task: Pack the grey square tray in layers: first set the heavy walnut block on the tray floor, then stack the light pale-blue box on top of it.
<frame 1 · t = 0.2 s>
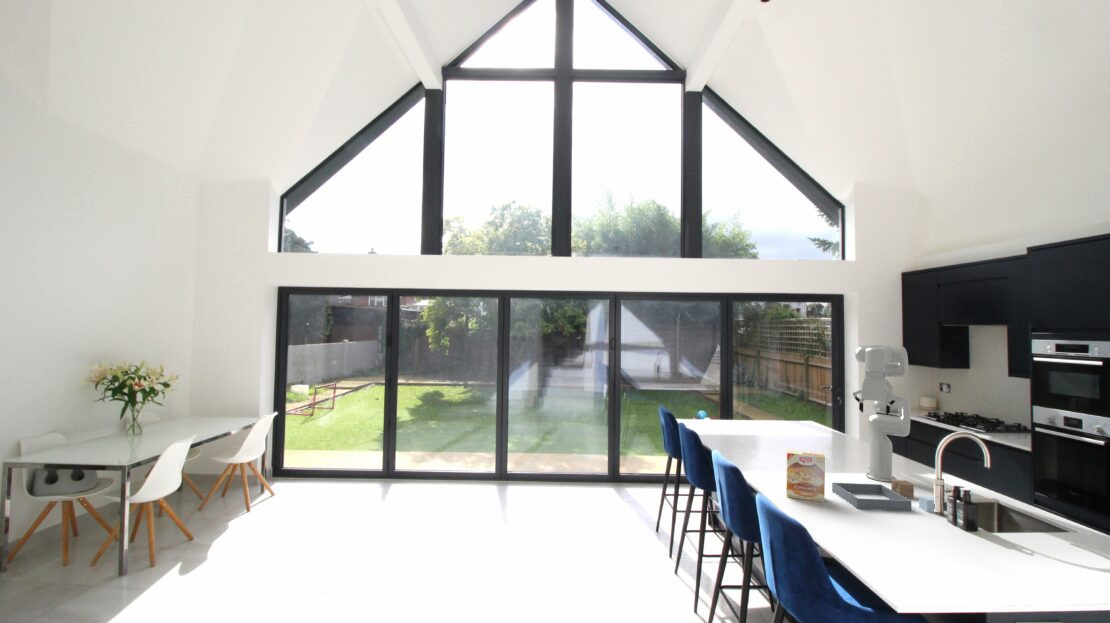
hand: (874, 413, 231), 36 cm above the kitchen island, tool pointing down, fingers open, 9 cm apart
walnut block: (902, 495, 230), on the kitchen island
coffeecake box: (804, 497, 225), on the kitchen island
grey square tray: (869, 500, 223), on the kitchen island
pale blue box: (929, 510, 213), on the kitchen island
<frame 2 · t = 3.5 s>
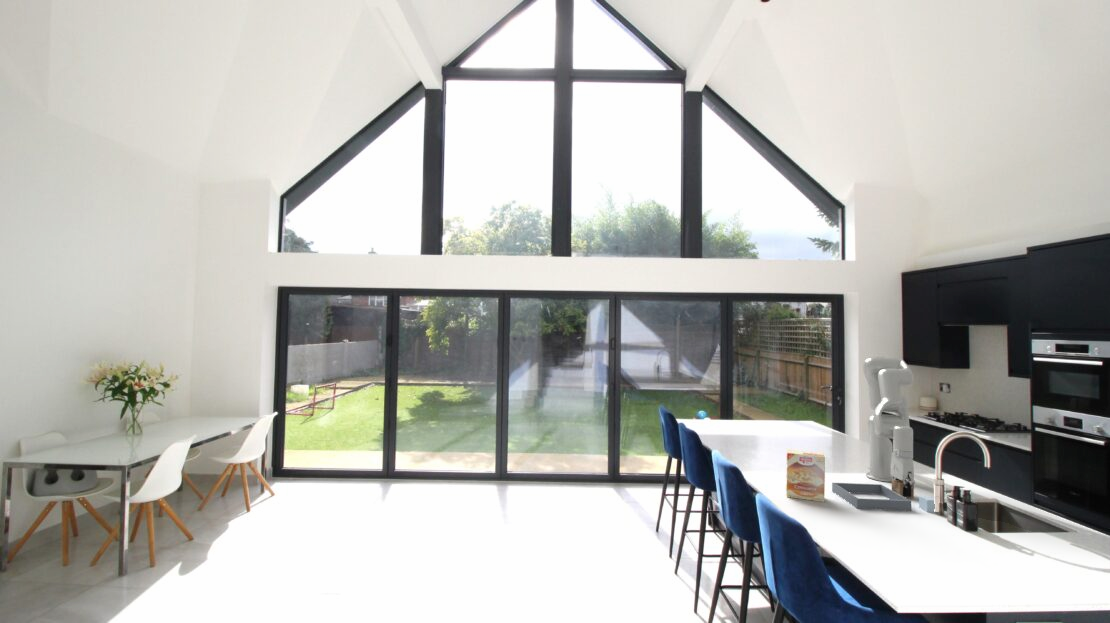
hand: (902, 493, 230), 1 cm above the kitchen island, tool pointing down, fingers closed on walnut block, 6 cm apart
walnut block: (902, 495, 230), on the kitchen island, touching gripper
everything else where it was.
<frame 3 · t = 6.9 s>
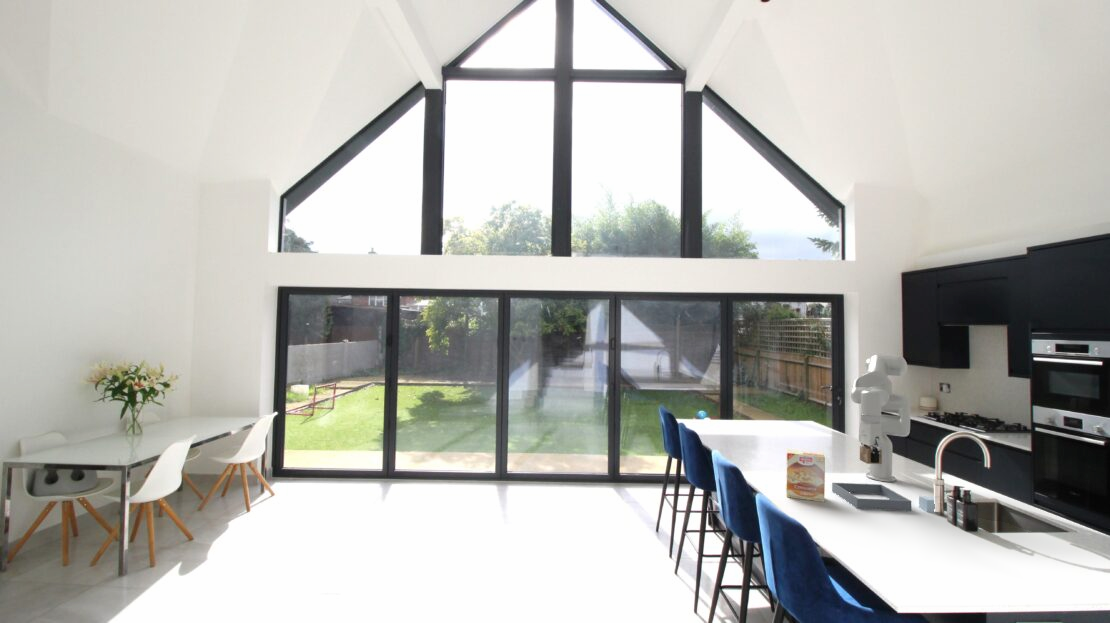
hand: (870, 460, 223), 17 cm above the kitchen island, tool pointing down, fingers closed on walnut block, 6 cm apart
walnut block: (870, 461, 223), point 17 cm above the kitchen island, touching gripper
everything else where it was.
when the fingers open (2 cm above the kitchen island, at t = 10.3 s): walnut block drops 1 cm, resting in grey square tray.
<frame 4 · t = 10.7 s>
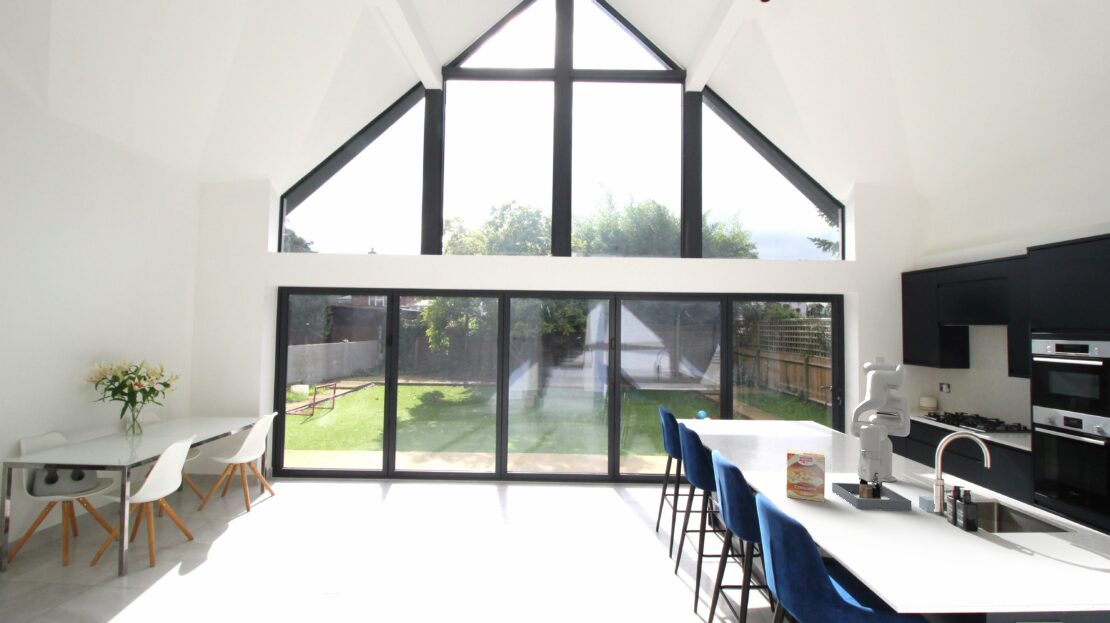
hand: (869, 493, 223), 3 cm above the kitchen island, tool pointing down, fingers open, 9 cm apart
walnut block: (869, 500, 223), resting in grey square tray
everything else where it was.
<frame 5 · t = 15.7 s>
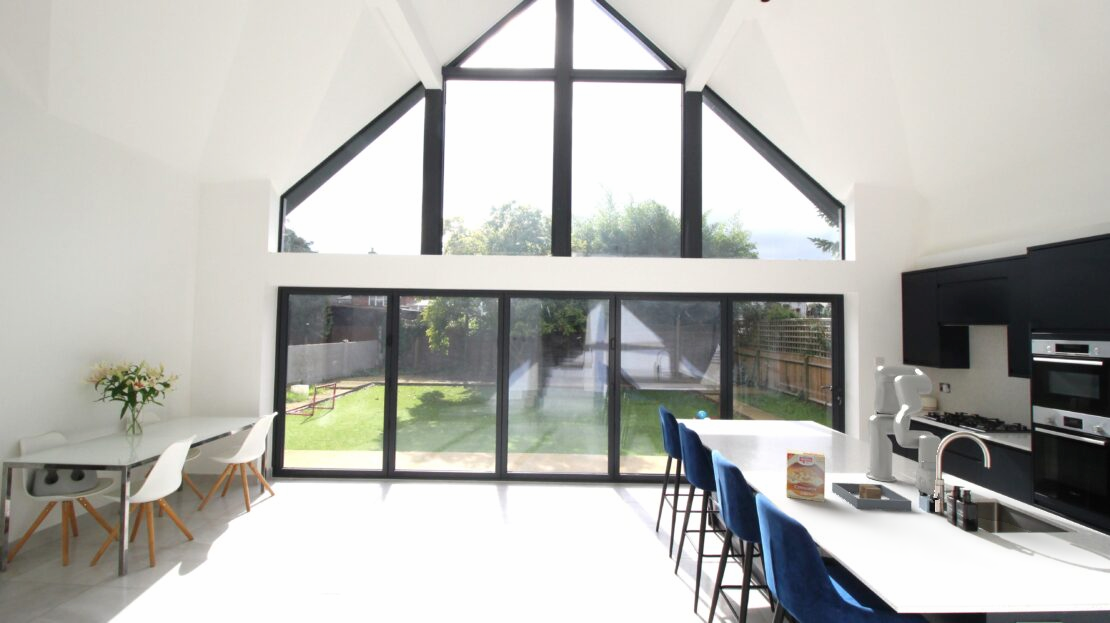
hand: (929, 508, 213), 0 cm above the kitchen island, tool pointing down, fingers closed on pale blue box, 4 cm apart
pale blue box: (929, 510, 213), on the kitchen island, touching gripper
everything else where it was.
when the fingers open (8 cm above the kitchen island, at t = 21.9 s): pale blue box drops 1 cm, resting on walnut block.
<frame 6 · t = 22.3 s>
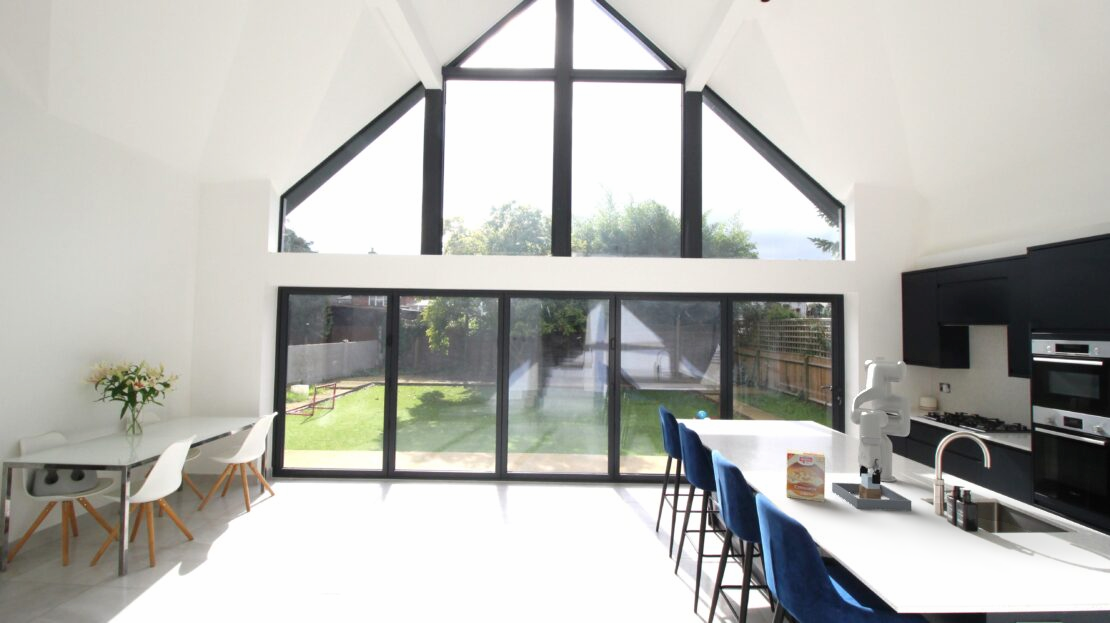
hand: (869, 480, 223), 9 cm above the kitchen island, tool pointing down, fingers open, 9 cm apart
walnut block: (869, 500, 223), resting in grey square tray, touching pale blue box
pale blue box: (870, 487, 223), point 6 cm above the kitchen island, touching walnut block
everything else where it was.
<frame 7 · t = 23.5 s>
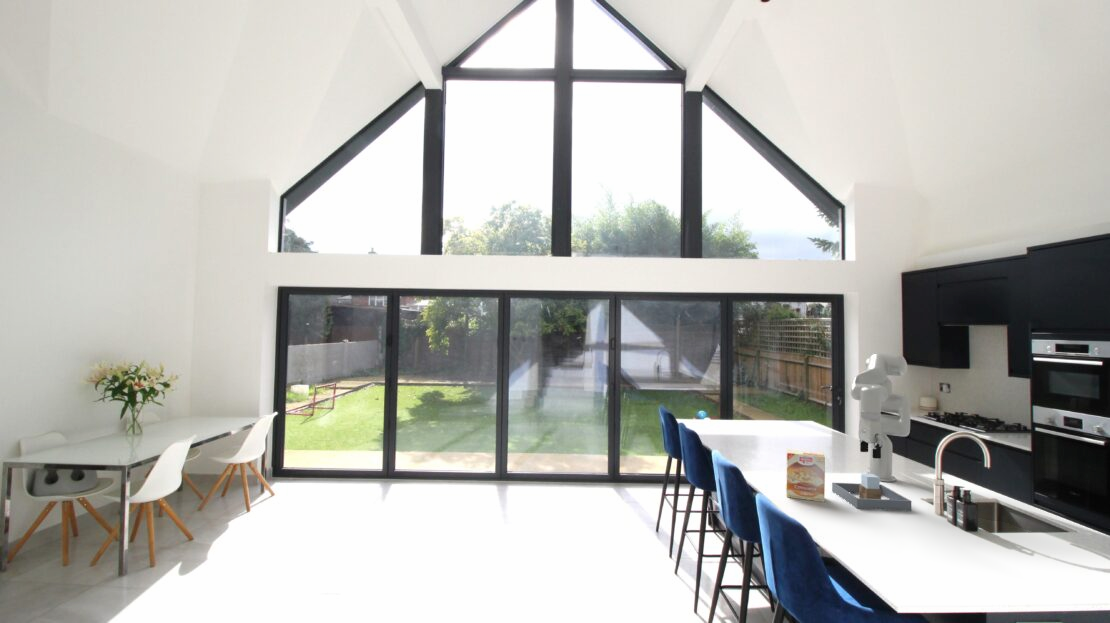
hand: (870, 454, 224), 20 cm above the kitchen island, tool pointing down, fingers open, 9 cm apart
nothing on the kitchen island moved.
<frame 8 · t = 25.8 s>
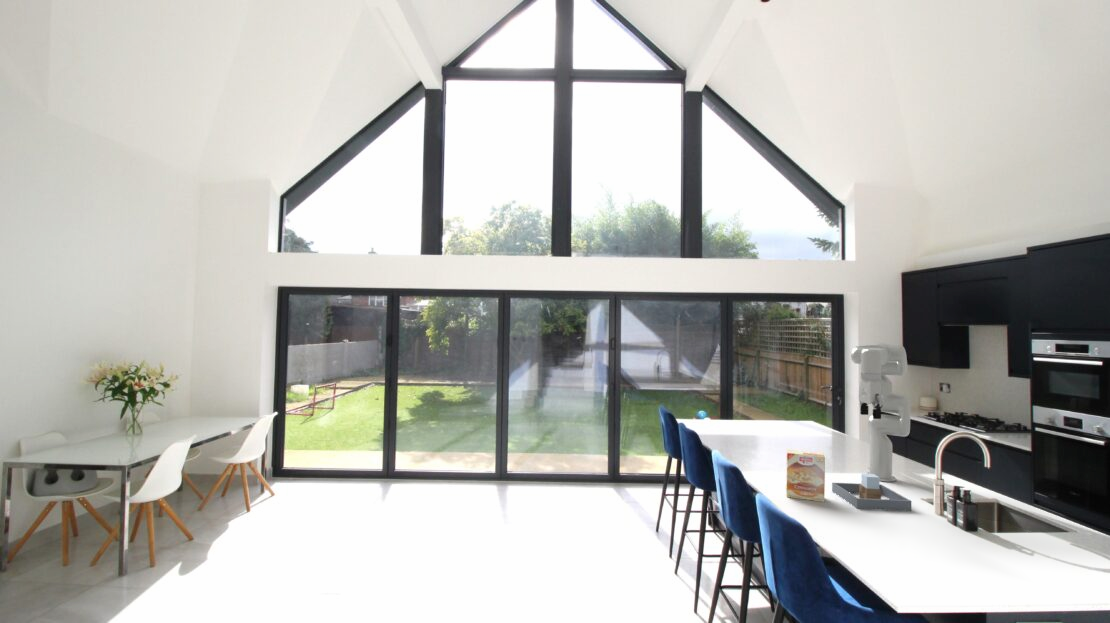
hand: (870, 416, 223), 36 cm above the kitchen island, tool pointing down, fingers open, 9 cm apart
nothing on the kitchen island moved.
at the end: walnut block inside the target area (0.4 cm from its centre), resting in grey square tray; pale blue box 0.2 cm off-centre on the walnut block, point 6.0 cm above the walnut block's base; pale blue box tilted 0° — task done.
